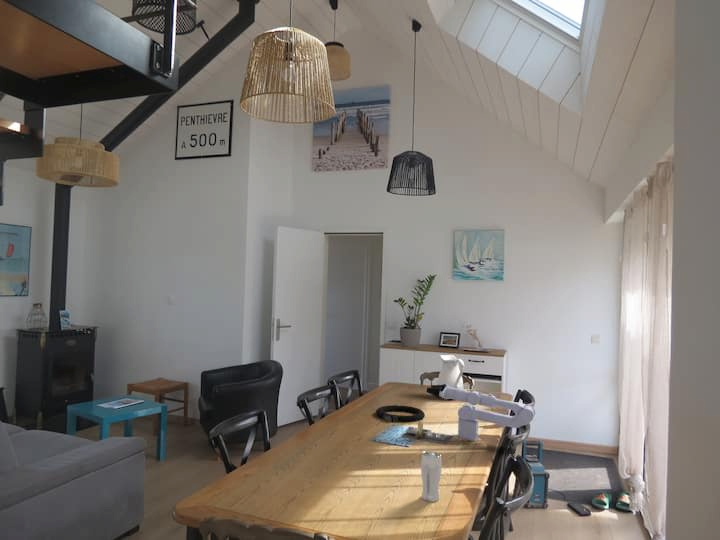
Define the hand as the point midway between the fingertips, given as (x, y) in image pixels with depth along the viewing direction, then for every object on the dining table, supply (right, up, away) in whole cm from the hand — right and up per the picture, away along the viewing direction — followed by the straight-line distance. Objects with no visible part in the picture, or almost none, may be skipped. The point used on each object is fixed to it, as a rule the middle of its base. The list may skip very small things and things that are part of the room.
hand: (429, 388), depth 258 cm
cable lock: (-13, -23, +29) cm, 39 cm away
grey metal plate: (-3, -20, -12) cm, 24 cm away
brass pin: (-6, -20, -16) cm, 26 cm away
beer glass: (-11, -19, -83) cm, 85 cm away
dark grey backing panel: (-2, -21, -12) cm, 25 cm away
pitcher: (+26, -26, +79) cm, 87 cm away
